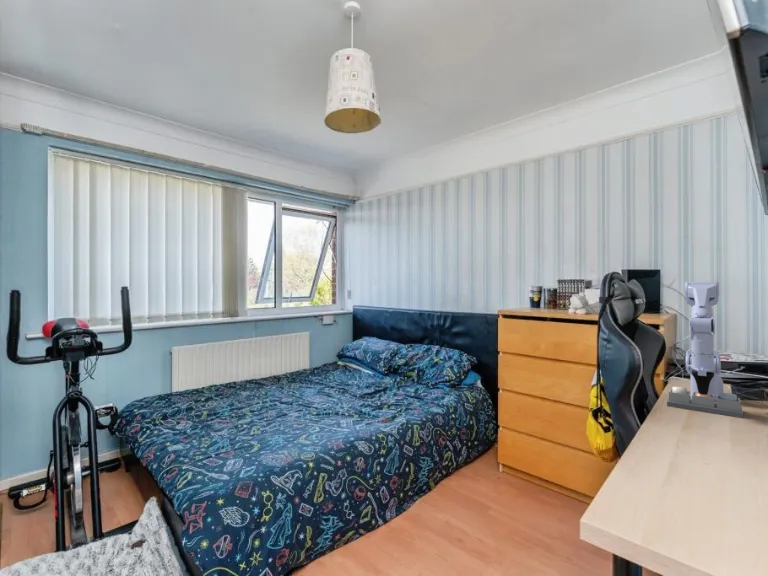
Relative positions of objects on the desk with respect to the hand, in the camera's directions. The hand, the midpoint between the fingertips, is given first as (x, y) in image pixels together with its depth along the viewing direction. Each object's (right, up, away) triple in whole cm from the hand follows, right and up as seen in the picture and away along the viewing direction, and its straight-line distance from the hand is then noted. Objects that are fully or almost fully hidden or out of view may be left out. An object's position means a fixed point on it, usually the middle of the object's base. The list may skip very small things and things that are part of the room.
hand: (703, 393), depth 124 cm
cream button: (-5, -2, +4) cm, 7 cm away
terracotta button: (0, -3, 0) cm, 3 cm away
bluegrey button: (+5, -2, -4) cm, 7 cm away
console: (0, -5, 0) cm, 5 cm away
